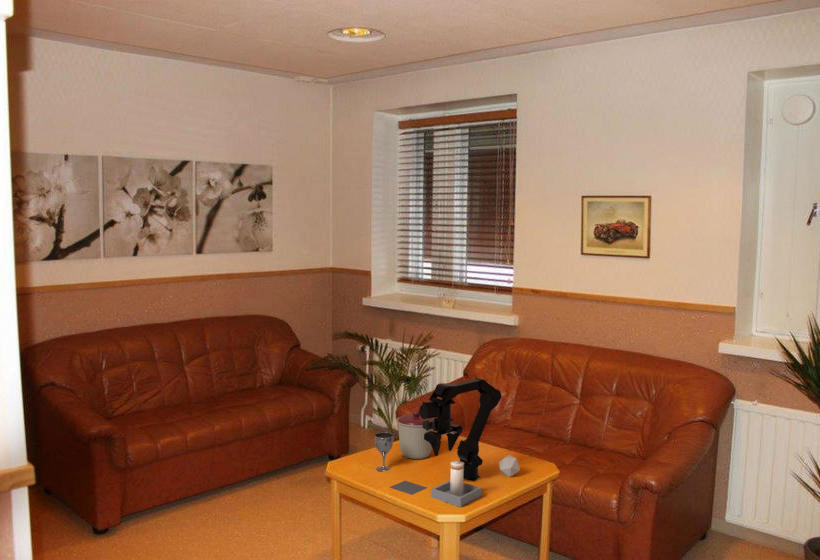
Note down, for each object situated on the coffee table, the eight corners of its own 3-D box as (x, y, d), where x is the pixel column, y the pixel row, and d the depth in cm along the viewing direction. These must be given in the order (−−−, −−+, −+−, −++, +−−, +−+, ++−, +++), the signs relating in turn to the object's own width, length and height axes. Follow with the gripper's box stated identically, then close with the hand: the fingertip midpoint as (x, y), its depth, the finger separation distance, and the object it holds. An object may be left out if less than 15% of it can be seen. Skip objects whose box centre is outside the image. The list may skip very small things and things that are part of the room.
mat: (404, 481, 300) (404, 480, 300) (427, 488, 292) (427, 487, 292) (388, 487, 292) (388, 487, 292) (412, 495, 285) (412, 494, 285)
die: (523, 478, 307) (521, 455, 312) (513, 472, 301) (512, 450, 306) (506, 481, 311) (504, 459, 316) (496, 476, 305) (495, 453, 310)
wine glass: (389, 473, 309) (389, 438, 308) (371, 471, 311) (372, 436, 310) (395, 467, 316) (396, 433, 315) (378, 465, 319) (378, 431, 318)
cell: (448, 493, 286) (449, 459, 284) (461, 493, 286) (462, 459, 285) (451, 498, 281) (451, 463, 279) (464, 498, 281) (465, 463, 280)
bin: (452, 487, 293) (452, 479, 293) (481, 496, 284) (481, 487, 284) (430, 497, 282) (431, 489, 282) (460, 507, 274) (460, 498, 273)
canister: (387, 454, 333) (388, 409, 331) (417, 446, 345) (417, 402, 343) (414, 465, 319) (415, 417, 318) (444, 456, 332) (444, 410, 330)
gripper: (441, 407, 306) (441, 444, 308) (413, 416, 292) (412, 454, 293) (463, 412, 299) (462, 449, 300) (435, 421, 285) (434, 460, 286)
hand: (443, 453), depth 295 cm, fingers open, 9 cm apart
